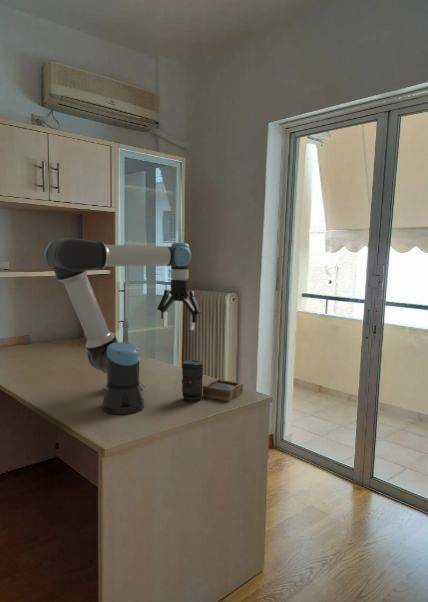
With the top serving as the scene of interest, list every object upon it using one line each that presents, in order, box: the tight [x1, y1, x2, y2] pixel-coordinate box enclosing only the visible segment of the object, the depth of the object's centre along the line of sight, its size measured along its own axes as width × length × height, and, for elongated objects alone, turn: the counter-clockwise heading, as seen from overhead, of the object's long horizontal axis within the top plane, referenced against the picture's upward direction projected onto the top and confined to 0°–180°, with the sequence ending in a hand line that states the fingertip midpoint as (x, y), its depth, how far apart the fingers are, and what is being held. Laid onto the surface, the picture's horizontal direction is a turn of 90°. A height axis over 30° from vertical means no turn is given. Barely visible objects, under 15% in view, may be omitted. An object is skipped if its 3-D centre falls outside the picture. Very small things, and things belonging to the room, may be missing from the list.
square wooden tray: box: [202, 378, 244, 402], centre depth 181 cm, size 12×12×4 cm
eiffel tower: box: [103, 318, 149, 392], centre depth 185 cm, size 13×13×30 cm
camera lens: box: [181, 359, 204, 403], centre depth 174 cm, size 8×8×15 cm
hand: (178, 328), depth 192 cm, fingers open, 13 cm apart
